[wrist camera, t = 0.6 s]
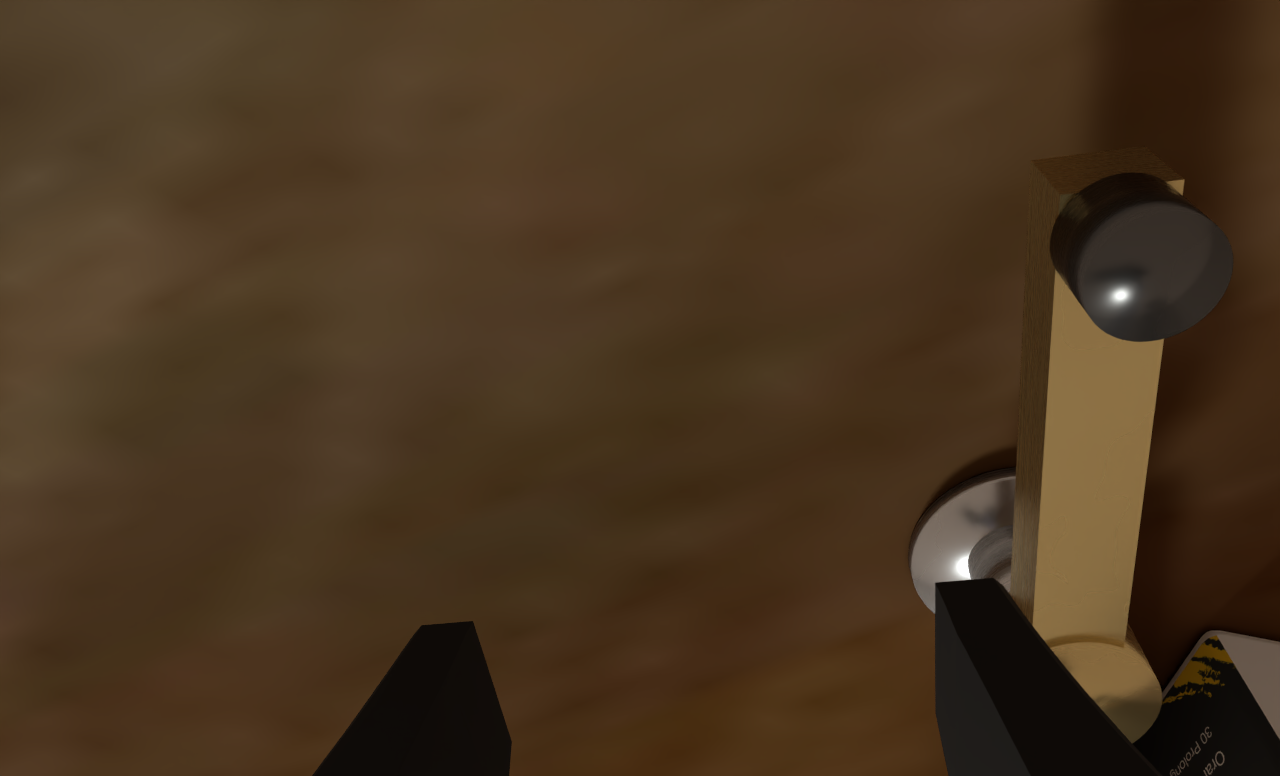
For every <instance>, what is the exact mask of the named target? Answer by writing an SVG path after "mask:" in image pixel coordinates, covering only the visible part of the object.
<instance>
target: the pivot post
mask: <svg viewBox="0 0 1280 776" xmlns="http://www.w3.org/2000/svg"><path fill="white" fill-rule="evenodd" d="M1015 479H1016V467H1014V468H1007V469H1000V470H996V471H992V472H988V473H984V474H981V475H979V476H976V477H973V478H971V479H969V480H967V481H964V482H962V483H960V484H958V485H957V486H955V487H954V488H952V489H950V490H949V491H947V492H946V493H945V494H943V495H942V496H941V497H939V498H938V499H937V500H936V501H935V502H934V503H933V504H932V505H931V506H930V507H929V508H928V509H927V510H926V512H925V513H924V514H923V515H922V517H921V518H920V520H919V522H918V523H917V525H916V527H915V529H914V531H913V534H912V536H911V540H910V544H909V552H908V560H909V567H910V571H911V575H912V578H913V582H914V585H915V588H916V590H917V592H918V594H919V596H920V598H921V599H922V601H923V602H924V603H925V605H926V606H927V607H928V608H929V609H930V610H931V611H932V612H934V613H935V583H936V582H948V581H960V580H972V579H984V578H994V579H996V580H997V581H998V582H1000V583H1001V584H1002V585H1003V586H1004V587H1005V589H1006V590H1007V591H1008V593H1009V592H1010V585H1011V564H1012V542H1013V521H1014V500H1015Z"/></svg>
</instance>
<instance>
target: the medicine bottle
mask: <svg viewBox="0 0 1280 776" xmlns="http://www.w3.org/2000/svg"><path fill="white" fill-rule="evenodd" d="M1132 744H1133V745H1134V746H1135V747H1136V748H1137V749H1138V750H1139V752H1140V753H1141V754H1142V755H1143V756H1144V757H1145V758H1146V759H1147V760H1148V761H1149V762H1150V763H1151V764H1152V765H1153V766H1154V767H1155V769H1156V770H1157V771H1158V772H1159V773H1160V774H1161V775H1162V776H1280V642H1278V641H1273V640H1267V639H1262V638H1257V637H1252V636H1246V635H1241V634H1236V633H1231V632H1225V631H1208V632H1206V633H1205V634H1204V635H1203V636H1202V637H1201V638H1200V639H1199V641H1198V642H1197V644H1196V645H1195V647H1194V648H1193V649H1192V651H1191V652H1190V654H1189V655H1188V657H1187V658H1186V659H1185V661H1184V662H1183V664H1182V665H1181V667H1180V668H1179V669H1178V671H1177V672H1176V674H1175V675H1174V677H1173V678H1172V680H1171V681H1170V682H1169V684H1168V685H1167V687H1166V688H1165V690H1164V691H1163V692H1162V705H1161V709H1160V712H1159V714H1158V716H1157V719H1156V720H1155V722H1154V723H1153V725H1152V726H1151V727H1150V728H1149V729H1148V731H1147V732H1146V733H1145V734H1144V735H1142V736H1141V737H1140V738H1139V739H1138V740H1136V741H1135V742H1134V743H1132Z"/></svg>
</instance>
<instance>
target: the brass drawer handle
mask: <svg viewBox="0 0 1280 776" xmlns="http://www.w3.org/2000/svg"><path fill="white" fill-rule="evenodd" d="M1184 180H1185V179H1183V178H1182V177H1181V176H1180V175H1179V174H1177V173H1176V172H1175V171H1174V170H1173V169H1172V168H1170V167H1169V166H1168V165H1167V164H1166V163H1164V162H1163V161H1162V160H1161V159H1160V158H1158V157H1157V156H1156V155H1155V154H1154V153H1152V152H1151V151H1150V150H1149V149H1148V148H1146V147H1145V146H1139V147H1132V148H1124V149H1116V150H1108V151H1101V152H1093V153H1085V154H1077V155H1069V156H1062V157H1054V158H1046V159H1038V160H1031V163H1030V184H1029V205H1028V227H1027V248H1026V269H1025V290H1024V311H1023V332H1022V353H1021V374H1020V395H1019V416H1018V437H1017V458H1016V479H1015V500H1014V521H1013V542H1012V564H1011V585H1010V592H1009V594H1010V596H1011V597H1012V599H1013V600H1014V601H1015V603H1016V604H1017V605H1018V607H1019V608H1020V610H1021V611H1022V612H1023V614H1024V615H1025V616H1026V618H1027V619H1028V620H1029V622H1030V623H1031V624H1032V626H1033V627H1034V628H1035V630H1036V631H1037V632H1038V633H1039V635H1040V636H1041V637H1042V639H1043V640H1044V641H1045V642H1046V644H1047V645H1048V646H1049V647H1050V649H1051V650H1052V651H1053V652H1054V654H1055V655H1056V656H1057V657H1058V659H1059V660H1060V661H1061V662H1062V663H1063V665H1064V666H1065V667H1066V668H1067V670H1068V671H1069V672H1070V673H1071V674H1072V676H1073V677H1074V678H1075V679H1076V680H1077V682H1078V683H1079V684H1080V685H1081V686H1082V688H1083V689H1084V690H1085V691H1086V692H1087V693H1088V695H1089V696H1090V697H1091V698H1092V699H1093V700H1094V701H1095V703H1096V704H1097V705H1098V706H1099V707H1100V708H1101V709H1102V710H1103V711H1104V713H1105V714H1106V715H1107V716H1108V717H1109V718H1110V719H1111V720H1112V722H1113V723H1114V724H1115V725H1116V726H1117V727H1118V728H1119V729H1120V731H1121V732H1122V733H1123V734H1124V735H1125V736H1126V737H1127V738H1128V740H1129V741H1130V742H1131V743H1134V742H1135V741H1136V740H1138V739H1139V738H1140V737H1141V736H1142V735H1144V734H1145V733H1146V732H1147V731H1148V729H1149V728H1150V727H1151V726H1152V725H1153V723H1154V722H1155V720H1156V719H1157V716H1158V714H1159V712H1160V709H1161V705H1162V691H1161V687H1160V684H1159V682H1158V680H1157V678H1156V676H1155V674H1154V672H1153V670H1152V668H1151V666H1150V664H1149V662H1148V660H1147V658H1146V656H1145V654H1144V652H1143V650H1142V648H1141V647H1140V645H1139V643H1138V641H1137V639H1136V637H1135V635H1134V633H1133V631H1132V629H1131V627H1130V625H1129V623H1128V613H1129V605H1130V598H1131V590H1132V582H1133V574H1134V567H1135V559H1136V551H1137V543H1138V536H1139V528H1140V520H1141V512H1142V505H1143V497H1144V489H1145V482H1146V474H1147V466H1148V458H1149V451H1150V443H1151V435H1152V427H1153V420H1154V412H1155V404H1156V396H1157V389H1158V381H1159V373H1160V365H1161V358H1162V350H1163V342H1164V338H1168V337H1171V336H1173V335H1176V334H1179V333H1181V332H1183V331H1185V330H1187V329H1188V328H1190V327H1192V326H1193V325H1195V324H1196V323H1198V322H1199V321H1200V320H1202V319H1203V318H1204V317H1205V316H1206V315H1207V314H1208V313H1209V312H1211V310H1212V309H1213V308H1214V307H1215V306H1216V305H1217V304H1218V302H1219V301H1220V299H1221V298H1222V296H1223V295H1224V293H1225V291H1226V289H1227V287H1228V284H1229V282H1230V279H1231V275H1232V271H1233V253H1232V249H1231V245H1230V243H1229V241H1228V239H1227V237H1226V236H1225V234H1224V233H1223V231H1222V230H1221V229H1220V228H1219V227H1218V226H1217V225H1216V224H1215V223H1213V222H1212V221H1211V220H1210V219H1209V218H1208V217H1207V216H1205V215H1204V214H1203V213H1202V212H1201V211H1200V210H1199V209H1197V208H1196V207H1195V206H1194V205H1193V204H1192V203H1191V202H1189V201H1188V200H1187V199H1186V198H1185V197H1184V196H1183V187H1184Z"/></svg>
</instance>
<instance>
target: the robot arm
mask: <svg viewBox="0 0 1280 776" xmlns="http://www.w3.org/2000/svg"><path fill="white" fill-rule="evenodd" d="M935 689H936V717H937V722H938V727H939V732H940V736H941V741H942V746H943V751H944V756H945V761H946V765H947V770H948V775H949V776H1162V775H1161V774H1160V773H1159V772H1158V771H1157V770H1156V769H1155V767H1154V766H1153V765H1152V764H1151V763H1150V762H1149V761H1148V760H1147V759H1146V758H1145V757H1144V756H1143V755H1142V754H1141V753H1140V752H1139V750H1138V749H1137V748H1136V747H1135V746H1134V745H1133V744H1132V743H1131V742H1130V741H1129V740H1128V738H1127V737H1126V736H1125V735H1124V734H1123V733H1122V732H1121V731H1120V729H1119V728H1118V727H1117V726H1116V725H1115V724H1114V723H1113V722H1112V720H1111V719H1110V718H1109V717H1108V716H1107V715H1106V714H1105V713H1104V711H1103V710H1102V709H1101V708H1100V707H1099V706H1098V705H1097V704H1096V703H1095V701H1094V700H1093V699H1092V698H1091V697H1090V696H1089V695H1088V693H1087V692H1086V691H1085V690H1084V689H1083V688H1082V686H1081V685H1080V684H1079V683H1078V682H1077V680H1076V679H1075V678H1074V677H1073V676H1072V674H1071V673H1070V672H1069V671H1068V670H1067V668H1066V667H1065V666H1064V665H1063V663H1062V662H1061V661H1060V660H1059V659H1058V657H1057V656H1056V655H1055V654H1054V652H1053V651H1052V650H1051V649H1050V647H1049V646H1048V645H1047V644H1046V642H1045V641H1044V640H1043V639H1042V637H1041V636H1040V635H1039V633H1038V632H1037V631H1036V630H1035V628H1034V627H1033V626H1032V624H1031V623H1030V622H1029V620H1028V619H1027V618H1026V616H1025V615H1024V614H1023V612H1022V611H1021V610H1020V608H1019V607H1018V605H1017V604H1016V603H1015V601H1014V600H1013V599H1012V597H1011V596H1010V594H1009V593H1008V591H1007V590H1006V589H1005V587H1004V586H1003V585H1002V584H1001V583H1000V582H998V581H997V580H996V579H994V578H984V579H972V580H960V581H948V582H936V583H935ZM511 744H512V741H511V738H510V735H509V732H508V729H507V726H506V723H505V720H504V716H503V713H502V710H501V707H500V704H499V701H498V698H497V695H496V692H495V688H494V685H493V682H492V679H491V676H490V673H489V670H488V667H487V664H486V660H485V657H484V654H483V651H482V648H481V645H480V642H479V639H478V636H477V633H476V629H475V626H474V623H473V621H469V622H457V623H445V624H433V625H422V626H421V627H420V628H419V629H418V630H417V631H416V633H415V634H414V635H413V637H412V638H411V639H410V641H409V642H408V644H407V645H406V646H405V648H404V649H403V651H402V652H401V654H400V655H399V656H398V658H397V659H396V661H395V662H394V664H393V665H392V666H391V668H390V669H389V671H388V672H387V674H386V675H385V676H384V678H383V679H382V681H381V682H380V684H379V685H378V686H377V688H376V689H375V691H374V692H373V694H372V695H371V696H370V698H369V699H368V701H367V702H366V703H365V705H364V706H363V708H362V709H361V710H360V712H359V713H358V715H357V716H356V717H355V719H354V720H353V722H352V723H351V724H350V726H349V727H348V729H347V730H346V731H345V733H344V734H343V735H342V737H341V738H340V739H339V741H338V742H337V743H336V745H335V746H334V747H333V749H332V750H331V751H330V753H329V754H328V755H327V757H326V758H325V759H324V761H323V762H322V763H321V765H320V766H319V767H318V769H317V770H316V771H315V773H314V774H313V775H312V776H509V769H510V756H511Z"/></svg>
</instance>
